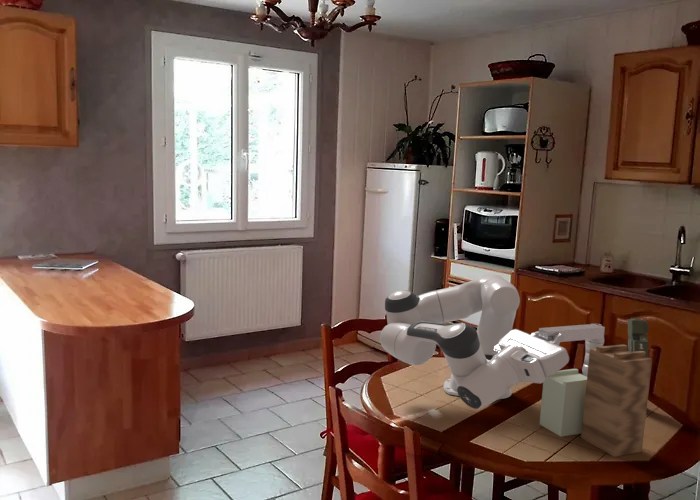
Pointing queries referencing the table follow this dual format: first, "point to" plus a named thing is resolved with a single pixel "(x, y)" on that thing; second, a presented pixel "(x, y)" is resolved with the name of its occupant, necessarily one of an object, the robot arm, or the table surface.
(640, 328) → the mechanical leg
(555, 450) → the table surface
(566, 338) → the link bar
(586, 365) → the plastic bottle
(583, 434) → the wood grain block
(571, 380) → the shelf block
